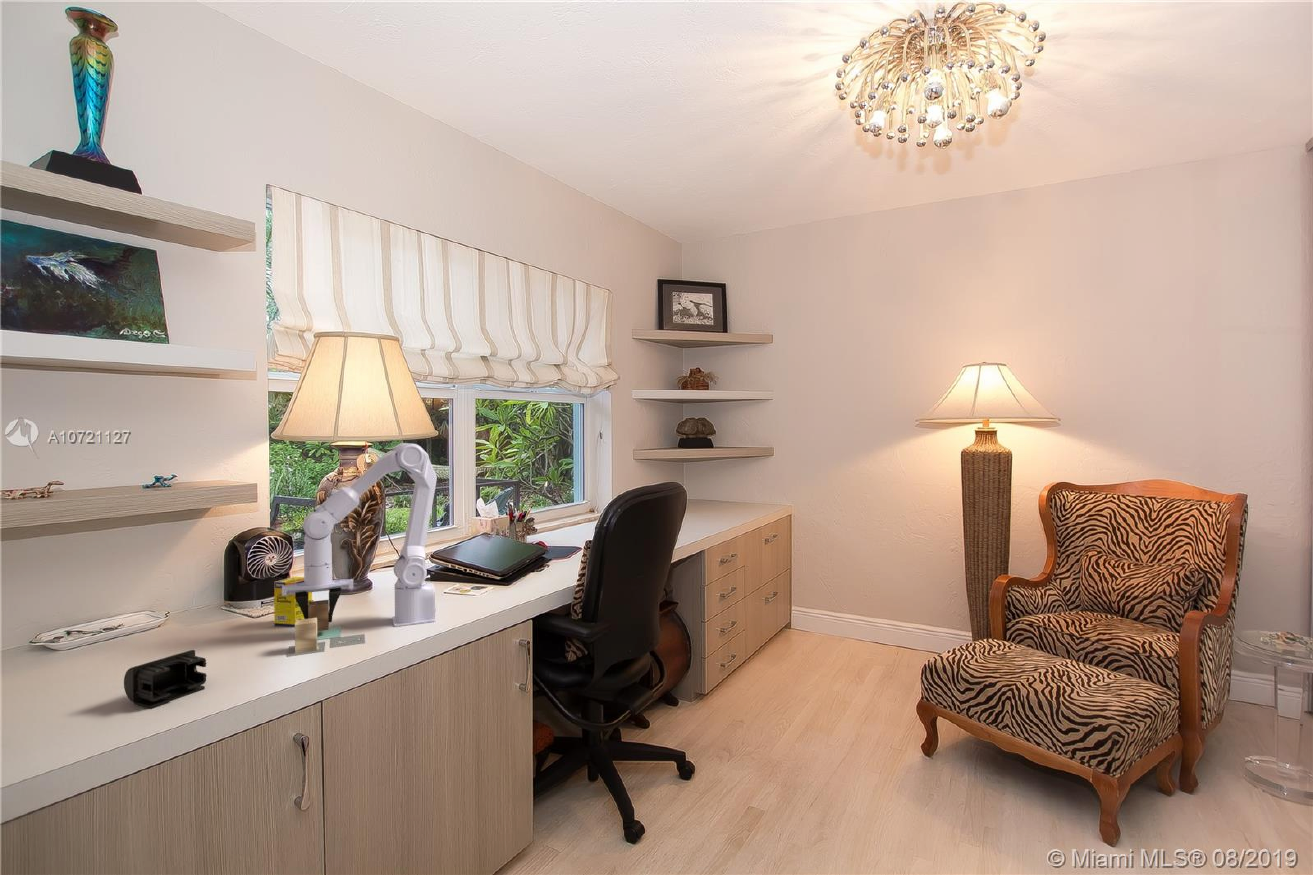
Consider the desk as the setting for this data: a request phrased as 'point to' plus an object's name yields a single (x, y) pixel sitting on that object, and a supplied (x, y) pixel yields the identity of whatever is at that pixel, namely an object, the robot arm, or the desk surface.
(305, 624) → the oak block
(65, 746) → the desk surface
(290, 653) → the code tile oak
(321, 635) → the felt pad
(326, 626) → the walnut block
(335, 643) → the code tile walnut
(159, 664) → the end cap
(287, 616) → the supplement box
